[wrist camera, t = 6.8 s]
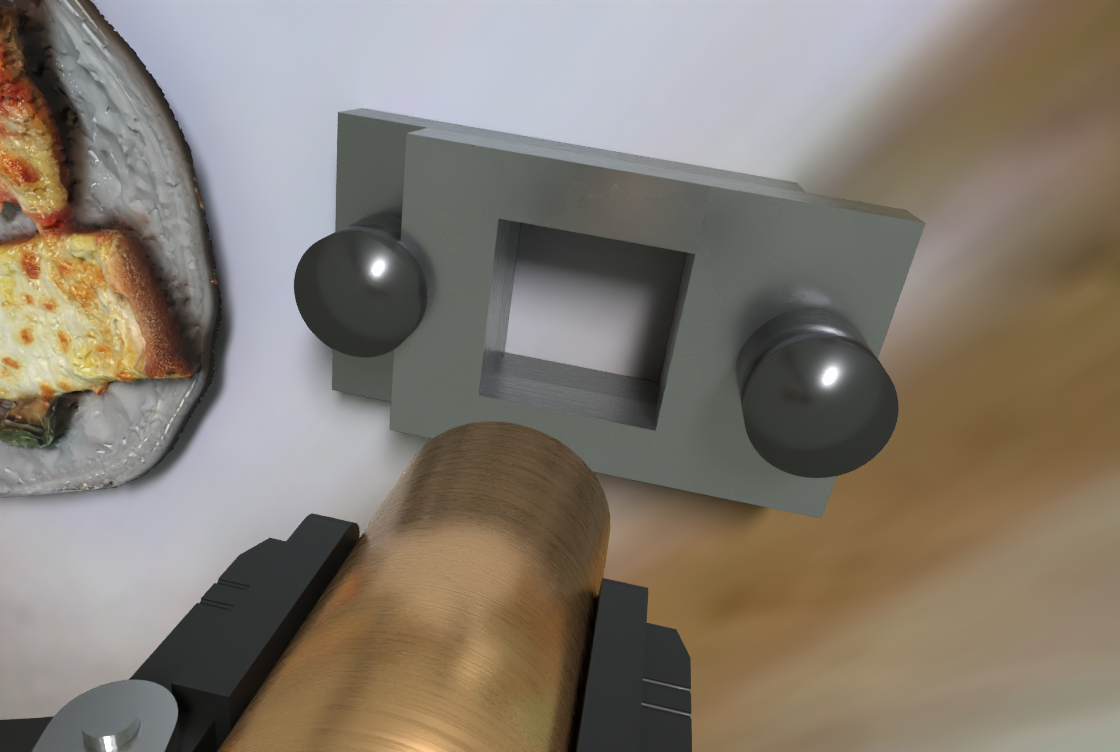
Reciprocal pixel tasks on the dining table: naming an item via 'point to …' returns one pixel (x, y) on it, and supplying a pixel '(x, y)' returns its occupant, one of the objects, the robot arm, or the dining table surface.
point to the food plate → (94, 258)
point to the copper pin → (451, 610)
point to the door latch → (698, 323)
